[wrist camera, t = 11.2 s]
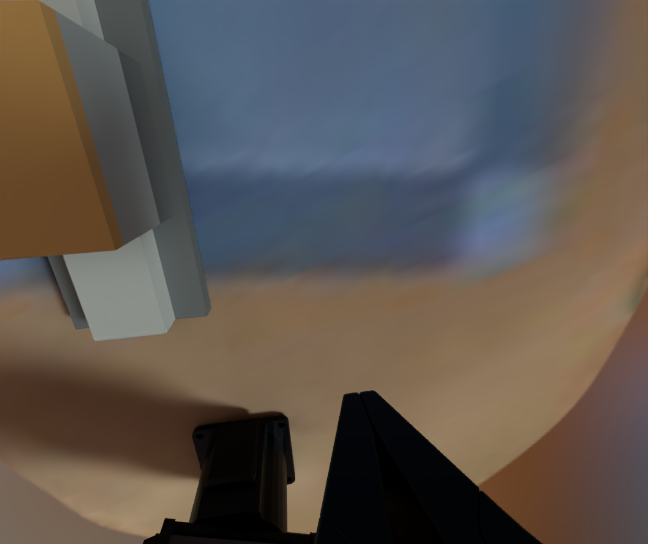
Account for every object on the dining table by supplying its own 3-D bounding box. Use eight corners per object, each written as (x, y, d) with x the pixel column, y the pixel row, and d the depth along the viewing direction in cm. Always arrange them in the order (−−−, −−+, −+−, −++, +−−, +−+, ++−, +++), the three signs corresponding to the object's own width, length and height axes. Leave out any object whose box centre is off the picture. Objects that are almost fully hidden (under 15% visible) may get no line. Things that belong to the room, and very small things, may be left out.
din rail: (211, 307, 19) (201, 329, 16) (86, 320, 18) (57, 344, 16) (126, -104, 12) (90, -163, 10) (-73, -108, 12) (-162, -172, 9)
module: (174, 215, 16) (115, 250, 10) (48, 224, 15) (-88, 267, 10) (140, 62, 13) (38, 0, 8) (-12, 67, 13) (-237, 3, 7)
